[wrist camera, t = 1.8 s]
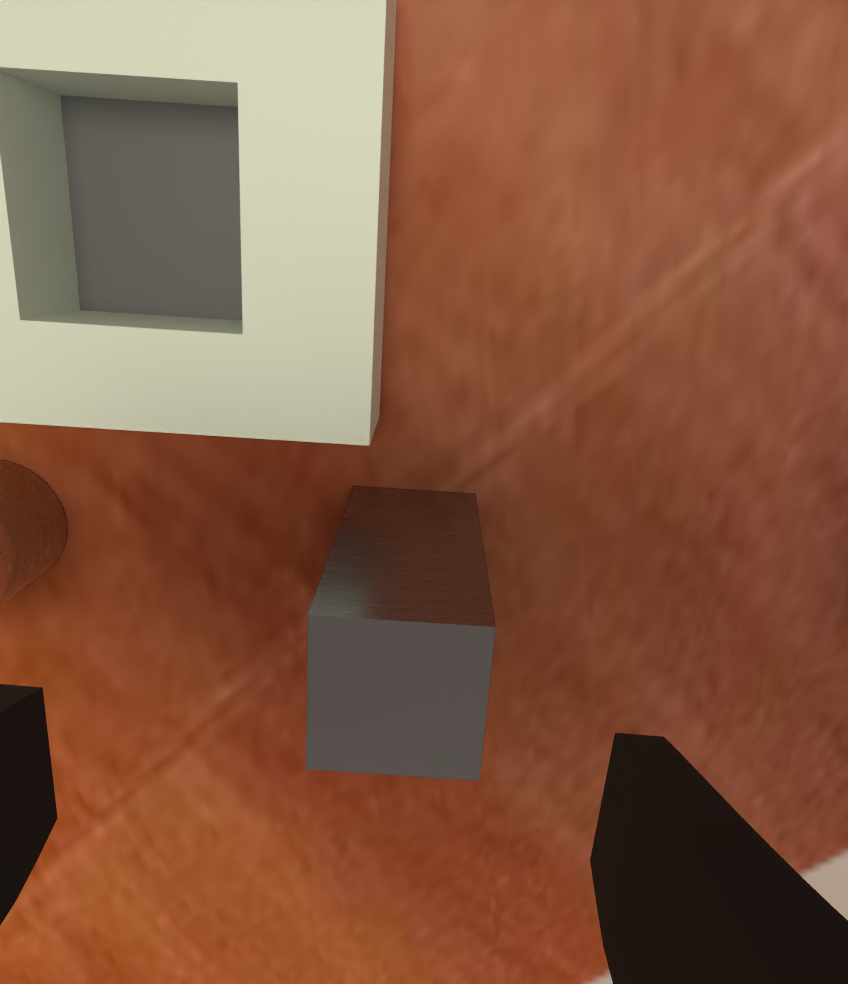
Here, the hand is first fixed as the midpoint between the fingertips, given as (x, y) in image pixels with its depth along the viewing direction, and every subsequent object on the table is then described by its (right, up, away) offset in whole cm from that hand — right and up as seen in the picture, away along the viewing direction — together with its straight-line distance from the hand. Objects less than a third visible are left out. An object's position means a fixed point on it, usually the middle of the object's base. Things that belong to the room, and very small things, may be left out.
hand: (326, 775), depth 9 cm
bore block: (-5, +10, +8) cm, 13 cm away
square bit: (+1, +2, +10) cm, 10 cm away
